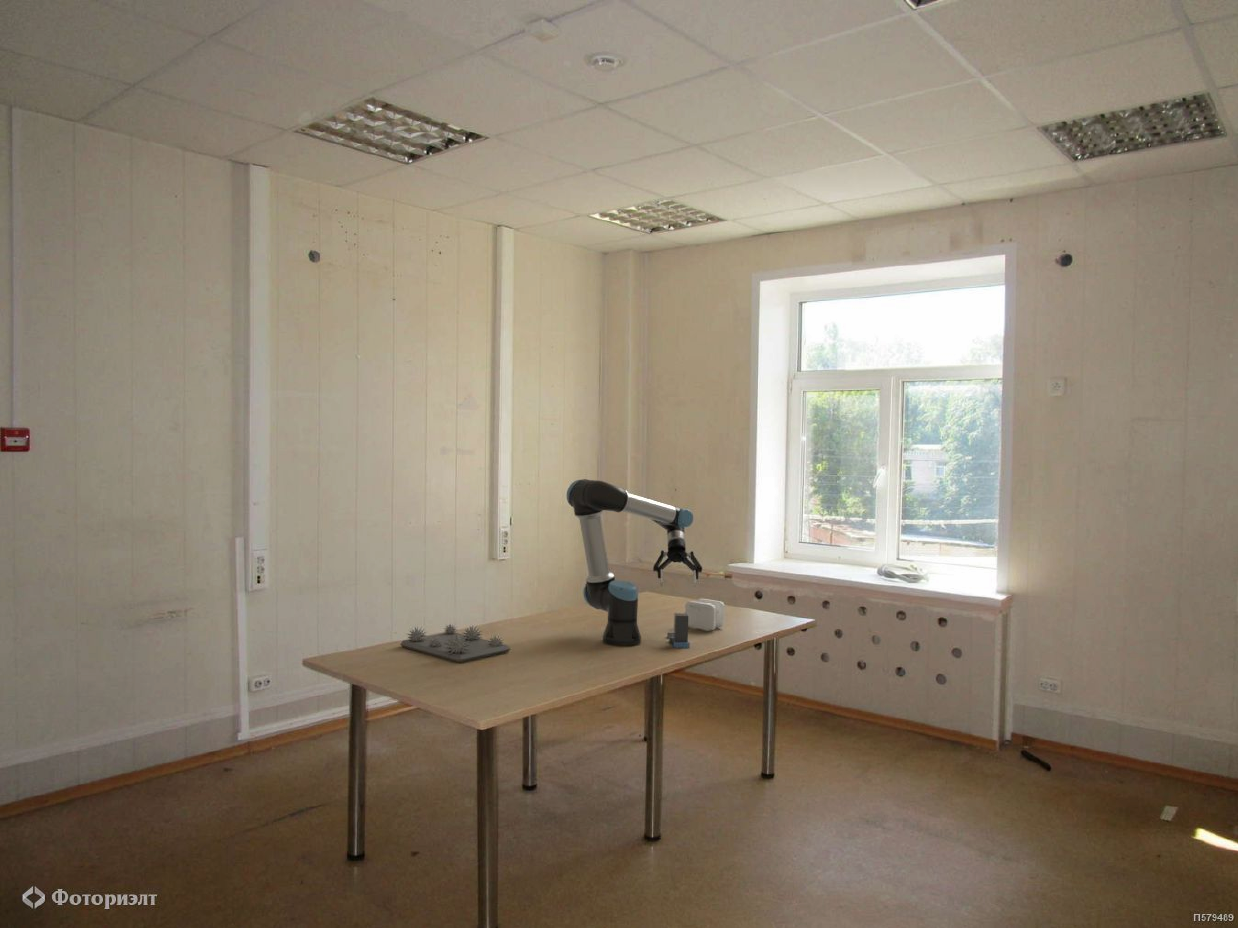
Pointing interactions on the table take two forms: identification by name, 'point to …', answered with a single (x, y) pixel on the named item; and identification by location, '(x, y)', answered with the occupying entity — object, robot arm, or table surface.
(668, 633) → the pair of grey bars
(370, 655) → the table surface
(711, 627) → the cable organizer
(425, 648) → the decorative tray
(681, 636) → the dark grey rectangular block
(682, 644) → the blue flat block
